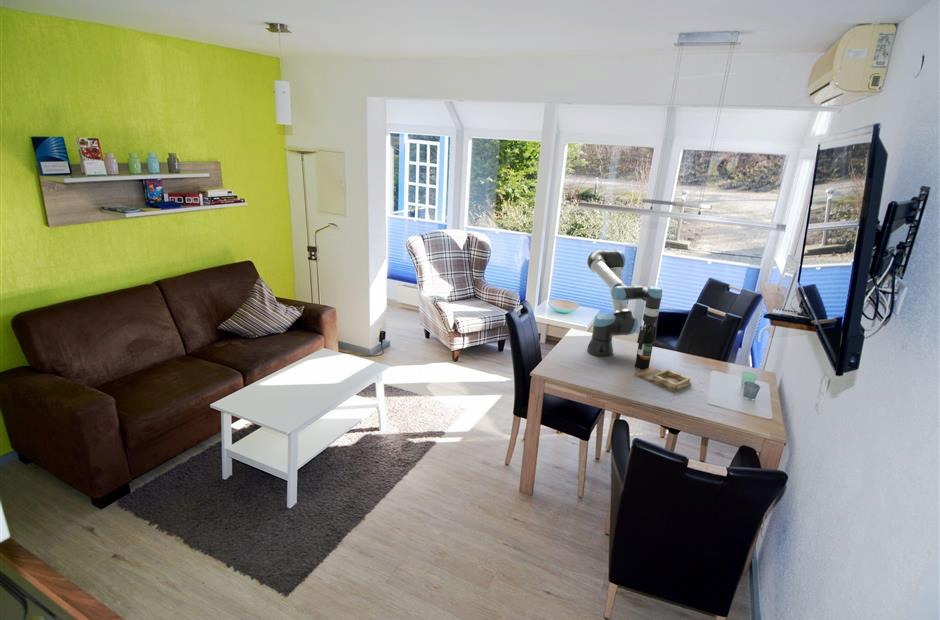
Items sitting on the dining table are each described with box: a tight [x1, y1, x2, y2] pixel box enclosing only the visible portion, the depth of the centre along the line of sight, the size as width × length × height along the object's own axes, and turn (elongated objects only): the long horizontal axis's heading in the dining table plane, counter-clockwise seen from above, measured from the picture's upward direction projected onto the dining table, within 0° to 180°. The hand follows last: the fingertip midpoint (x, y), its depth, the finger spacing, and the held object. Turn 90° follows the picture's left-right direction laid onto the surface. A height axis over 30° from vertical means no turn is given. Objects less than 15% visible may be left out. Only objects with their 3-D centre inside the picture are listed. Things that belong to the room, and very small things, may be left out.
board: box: [634, 366, 692, 393], centre depth 272 cm, size 24×16×4 cm, turn 39°
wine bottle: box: [634, 323, 655, 370], centre depth 282 cm, size 8×8×30 cm
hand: (644, 352), depth 284 cm, fingers closed on wine bottle, 7 cm apart
